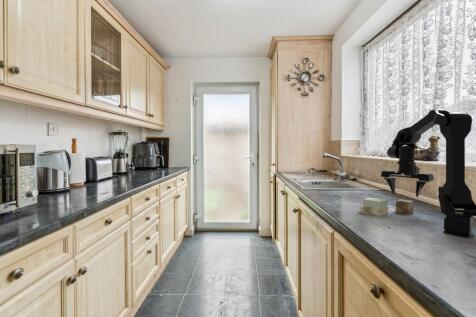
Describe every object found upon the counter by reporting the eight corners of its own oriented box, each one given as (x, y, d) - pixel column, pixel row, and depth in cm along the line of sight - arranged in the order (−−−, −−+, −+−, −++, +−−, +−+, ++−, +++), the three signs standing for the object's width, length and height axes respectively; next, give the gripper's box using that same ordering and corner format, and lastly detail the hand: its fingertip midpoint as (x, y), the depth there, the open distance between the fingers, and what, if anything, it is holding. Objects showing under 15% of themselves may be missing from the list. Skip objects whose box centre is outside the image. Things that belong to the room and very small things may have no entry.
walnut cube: (413, 212, 117) (413, 201, 116) (408, 214, 114) (408, 202, 113) (400, 210, 121) (400, 199, 120) (395, 211, 118) (395, 200, 117)
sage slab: (387, 207, 115) (387, 200, 115) (379, 209, 110) (379, 201, 110) (371, 204, 120) (371, 197, 120) (362, 206, 116) (363, 199, 116)
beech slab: (388, 214, 115) (388, 207, 115) (378, 216, 110) (379, 209, 110) (369, 210, 121) (369, 203, 121) (359, 212, 116) (360, 205, 116)
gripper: (439, 160, 114) (437, 197, 114) (392, 158, 128) (390, 190, 129) (429, 160, 107) (427, 199, 107) (380, 158, 122) (379, 193, 122)
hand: (405, 195), depth 117 cm, fingers open, 9 cm apart
